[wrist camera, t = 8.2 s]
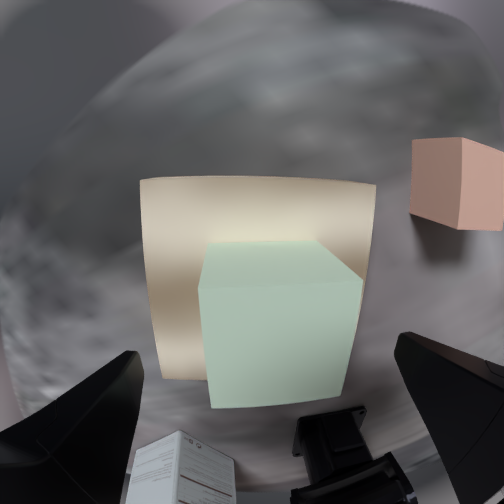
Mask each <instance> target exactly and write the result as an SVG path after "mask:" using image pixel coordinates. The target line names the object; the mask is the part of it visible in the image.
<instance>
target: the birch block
mask: <svg viewBox="0 0 504 504" xmlns="http://www.w3.org/2000/svg"><path fill="white" fill-rule="evenodd" d="M375 195H376V185H372V184H365V183H359V182H352V181H344V180H331V179H316V178H298V177H274V176H179V177H157V178H151V179H144V180H140V198H141V220H142V236H143V248H144V260H145V270H146V279H147V287H148V295H149V303H150V310H151V317H152V323H153V329H154V335H155V341H156V347H157V352H158V357H159V363H160V367H161V372H162V377H163V378H165V379H183V380H208V379H207V372H206V364H205V355H204V346H203V337H202V328H201V318H200V307H199V296H198V285H199V281H200V276H201V272H202V267H203V263H204V258H205V254H206V250H207V245H208V243H234V242H272V241H316V240H317V241H318V242H319V243H320V244H321V245H323V246H324V247H325V248H326V249H327V250H329V251H330V252H331V253H332V254H333V255H335V256H336V257H337V258H338V259H339V260H340V261H342V262H343V263H344V264H345V265H346V266H347V267H349V268H350V269H351V270H352V271H353V272H354V273H356V274H357V275H358V276H359V277H360V278H361V279H363V286H362V293H361V299H360V306H359V312H358V318H359V313H360V308H361V303H362V298H363V292H364V286H365V280H366V274H367V267H368V260H369V253H370V245H371V237H372V228H373V218H374V207H375ZM358 318H357V323H358ZM357 323H356V328H357ZM355 332H356V329H355ZM354 337H355V334H354ZM353 341H354V339H353ZM352 346H353V344H352ZM351 350H352V349H351ZM350 354H351V353H350Z"/></svg>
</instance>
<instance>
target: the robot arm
mask: <svg viewBox="0 0 504 504" xmlns="http://www.w3.org/2000/svg"><path fill="white" fill-rule="evenodd" d="M394 357H395V360H396V362H397V365H398V367H399V370H400V372H401V375H402V377H403V380H404V382H405V385H406V387H407V389H408V391H409V393H410V395H411V397H412V399H413V401H414V403H415V405H416V407H417V409H418V411H419V413H420V415H421V417H422V419H423V421H424V423H425V425H426V427H427V429H428V431H429V433H430V435H431V437H432V440H433V442H434V444H435V446H436V448H437V450H438V453H439V455H440V457H441V459H442V462H443V464H444V466H445V468H446V471H447V473H448V474H449V478H450V481H451V483H452V485H453V488H454V490H455V493H456V495H457V498H458V501H459V503H460V504H485V503H486V502H487V501H488V500H490V499H491V498H492V497H493V496H495V495H496V494H497V493H498V492H500V491H501V492H502V494H503V496H504V366H501V365H498V364H495V363H492V362H490V361H487V360H485V361H484V359H481V358H479V357H476V356H473V355H471V354H468V353H465V352H463V351H460V350H457V349H455V348H452V347H449V346H447V345H444V344H441V343H439V342H436V341H434V340H431V339H428V338H426V337H423V336H421V335H418V334H415V333H413V332H404V333H401V334H400V335H399V336H398V340H397V343H396V347H395V350H394ZM143 381H144V369H143V366H142V362H141V358H140V355H139V353H138V352H137V351H125V352H123V353H122V354H120V355H119V356H118V357H116V358H115V359H113V360H112V361H110V362H109V363H108V364H106V365H105V366H103V367H102V368H100V369H99V370H97V371H96V372H95V373H93V374H92V375H90V376H89V377H87V378H86V379H85V380H83V381H82V382H80V383H79V384H77V385H76V386H74V387H73V388H72V389H70V390H69V391H67V392H66V393H64V394H63V395H61V396H60V397H58V398H57V399H56V400H54V401H53V402H51V403H50V404H48V405H47V406H45V407H44V408H42V409H41V410H39V411H37V412H36V413H34V414H32V415H31V416H29V417H27V418H25V419H24V420H22V421H20V422H18V423H16V424H14V425H12V426H11V427H9V428H7V429H5V430H3V431H1V432H0V504H120V499H121V494H122V488H123V483H124V478H125V473H126V469H127V464H128V459H129V455H130V450H131V446H132V441H133V437H134V433H135V429H136V425H137V421H138V416H139V411H140V403H141V395H142V388H143ZM366 412H367V410H366V408H365V407H364V406H361V407H357V408H352V409H347V410H342V411H337V412H332V413H326V414H320V415H314V416H307V417H302V418H300V419H299V420H298V423H297V428H296V434H295V439H294V445H293V450H292V454H293V456H294V457H299V456H303V458H304V461H305V465H306V469H307V473H308V477H309V480H310V484H311V485H309V486H306V487H303V488H299V489H298V488H296V489H292V490H291V497H290V502H291V504H418V501H417V498H416V495H415V492H414V490H413V488H412V486H411V484H410V482H409V480H408V479H407V477H406V475H405V474H404V472H403V470H402V469H401V467H400V466H399V464H398V463H397V461H396V459H395V458H394V456H393V455H392V453H391V452H388V453H386V454H384V456H382V457H380V458H378V459H376V460H373V458H372V455H371V453H370V451H369V449H368V447H367V445H366V442H365V440H364V438H363V436H362V434H361V432H360V430H359V429H360V427H361V425H362V422H363V420H364V417H365V415H366ZM497 504H504V498H503V499H502V500H501V501H500V502H499V503H497Z"/></svg>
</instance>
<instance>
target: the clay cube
mask: <svg viewBox="0 0 504 504" xmlns="http://www.w3.org/2000/svg"><path fill="white" fill-rule="evenodd" d="M409 213H411V214H414V215H417V216H420V217H423V218H426V219H429V220H432V221H435V222H438V223H441V224H443V225H446V226H449V227H452V228H455V229H459V230H493V231H502V227H503V219H504V152H501V151H499V150H496V149H494V148H491V147H488V146H486V145H483V144H480V143H477V142H474V141H471V140H468V139H465V138H462V137H456V138H432V139H417V140H412V181H411V199H410V212H409Z"/></svg>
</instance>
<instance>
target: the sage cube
mask: <svg viewBox="0 0 504 504" xmlns="http://www.w3.org/2000/svg"><path fill="white" fill-rule="evenodd" d="M362 286H363V279H361V278H360V277H359V276H358V275H357V274H356V273H354V272H353V271H352V270H351V269H350V268H349V267H347V266H346V265H345V264H344V263H343V262H342V261H340V260H339V259H338V258H337V257H336V256H335V255H333V254H332V253H331V252H330V251H329V250H327V249H326V248H325V247H324V246H323V245H321V244H320V243H319V242H318V241H317V240H316V241H272V242H234V243H208V245H207V250H206V254H205V258H204V263H203V267H202V272H201V276H200V281H199V285H198V296H199V307H200V318H201V328H202V337H203V346H204V355H205V364H206V372H207V379H208V387H209V394H210V401H211V408H242V407H258V406H271V405H281V404H290V403H298V402H306V401H313V400H320V399H326V398H332V397H337V396H340V395H341V391H342V387H343V383H344V379H345V375H346V371H347V367H348V362H349V358H350V353H351V349H352V344H353V339H354V334H355V329H356V323H357V318H358V312H359V306H360V299H361V293H362Z"/></svg>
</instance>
